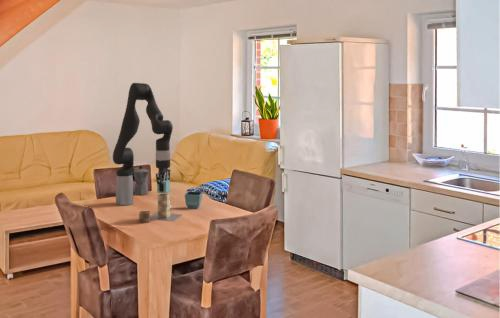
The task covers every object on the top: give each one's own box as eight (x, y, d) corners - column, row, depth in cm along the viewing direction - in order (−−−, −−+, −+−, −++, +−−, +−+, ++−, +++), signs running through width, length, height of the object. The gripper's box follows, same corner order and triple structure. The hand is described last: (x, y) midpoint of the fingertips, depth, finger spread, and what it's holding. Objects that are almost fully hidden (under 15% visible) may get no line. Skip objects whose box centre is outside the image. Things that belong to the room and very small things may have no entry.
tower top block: (158, 206, 288) (157, 195, 287) (160, 204, 293) (160, 193, 292) (167, 207, 288) (167, 195, 287) (169, 204, 292) (169, 193, 292)
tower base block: (157, 217, 289) (157, 206, 288) (161, 215, 294) (161, 204, 293) (166, 218, 288) (166, 207, 287) (170, 215, 293) (170, 204, 292)
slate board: (144, 221, 287) (144, 219, 286) (155, 214, 300) (155, 212, 300) (173, 223, 283) (173, 221, 282) (183, 216, 296) (183, 214, 296)
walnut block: (139, 225, 280) (139, 213, 279) (140, 222, 285) (140, 211, 284) (149, 224, 280) (149, 213, 279) (150, 222, 285) (149, 211, 284)
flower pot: (202, 206, 318) (202, 191, 317) (199, 210, 310) (199, 195, 308) (187, 206, 319) (187, 191, 318) (184, 210, 311) (184, 194, 309)
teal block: (157, 192, 287) (157, 181, 287) (161, 190, 292) (161, 179, 291) (166, 193, 286) (166, 182, 285) (170, 191, 291) (169, 180, 290)
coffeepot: (154, 193, 352) (153, 166, 350) (143, 196, 345) (142, 168, 342) (137, 190, 361) (136, 163, 358) (126, 193, 354) (125, 165, 351)
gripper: (161, 156, 294) (162, 187, 297) (150, 160, 281) (151, 192, 283) (174, 156, 292) (175, 188, 295) (164, 161, 279) (164, 193, 281)
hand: (163, 190), depth 289 cm, fingers closed on teal block, 5 cm apart
